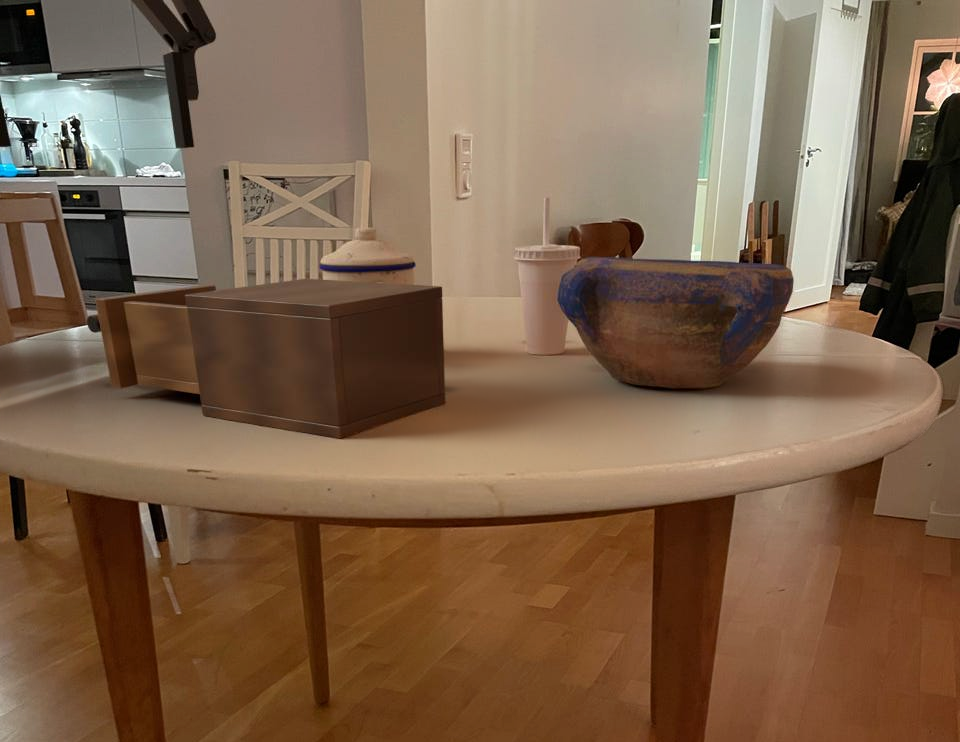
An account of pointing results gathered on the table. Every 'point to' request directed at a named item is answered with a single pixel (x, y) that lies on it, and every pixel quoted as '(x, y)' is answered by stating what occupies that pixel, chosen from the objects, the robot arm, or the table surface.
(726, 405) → the table surface
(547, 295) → the smoothie
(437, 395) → the cabinet
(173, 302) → the drawer
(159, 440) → the table surface
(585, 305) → the bowl
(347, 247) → the teacup with lid
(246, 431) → the table surface
